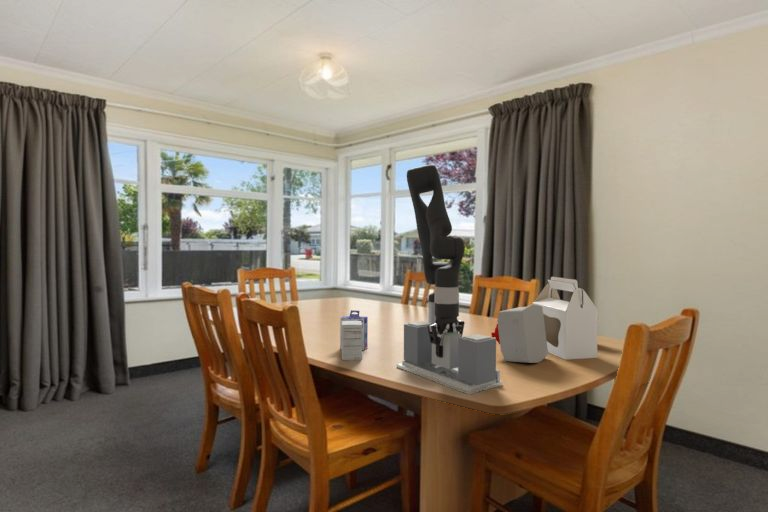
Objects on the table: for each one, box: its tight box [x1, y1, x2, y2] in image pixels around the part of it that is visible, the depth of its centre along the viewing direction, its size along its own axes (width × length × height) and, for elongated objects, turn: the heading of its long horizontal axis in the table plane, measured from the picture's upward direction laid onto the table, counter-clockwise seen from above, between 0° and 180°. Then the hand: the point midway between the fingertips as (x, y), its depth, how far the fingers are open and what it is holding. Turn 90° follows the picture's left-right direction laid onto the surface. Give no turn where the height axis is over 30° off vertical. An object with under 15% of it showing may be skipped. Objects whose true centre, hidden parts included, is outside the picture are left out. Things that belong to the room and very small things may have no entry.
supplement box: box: [341, 321, 363, 361], centre depth 157 cm, size 7×7×13 cm
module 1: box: [403, 321, 432, 365], centre depth 146 cm, size 8×7×12 cm
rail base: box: [396, 360, 503, 395], centre depth 137 cm, size 14×32×4 cm, turn 36°
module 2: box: [458, 333, 497, 386], centre depth 126 cm, size 8×7×12 cm
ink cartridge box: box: [339, 309, 369, 351], centre depth 171 cm, size 10×6×14 cm, turn 78°
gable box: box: [531, 276, 599, 361], centre depth 167 cm, size 22×13×28 cm, turn 12°
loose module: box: [432, 332, 463, 369], centre depth 136 cm, size 5×8×10 cm, turn 36°
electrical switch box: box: [491, 304, 549, 364], centre depth 158 cm, size 15×15×20 cm
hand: (446, 355), depth 137 cm, fingers closed on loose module, 5 cm apart
